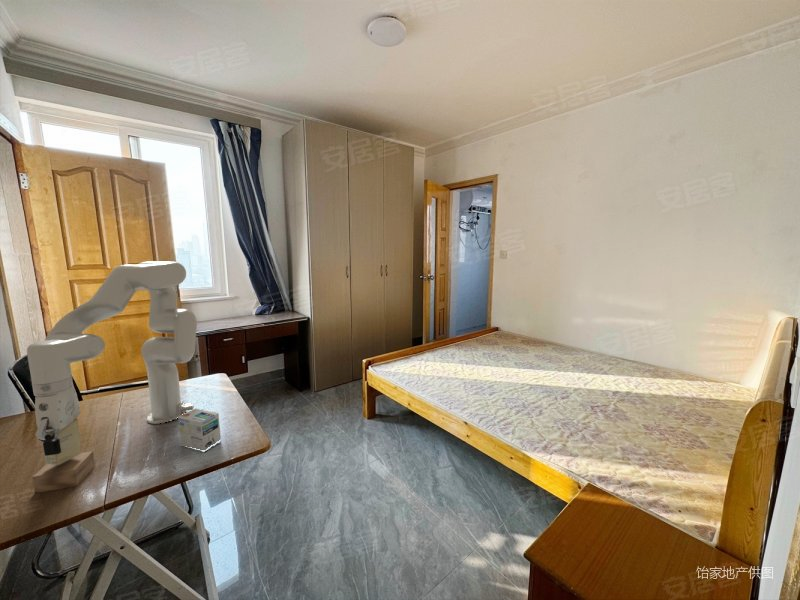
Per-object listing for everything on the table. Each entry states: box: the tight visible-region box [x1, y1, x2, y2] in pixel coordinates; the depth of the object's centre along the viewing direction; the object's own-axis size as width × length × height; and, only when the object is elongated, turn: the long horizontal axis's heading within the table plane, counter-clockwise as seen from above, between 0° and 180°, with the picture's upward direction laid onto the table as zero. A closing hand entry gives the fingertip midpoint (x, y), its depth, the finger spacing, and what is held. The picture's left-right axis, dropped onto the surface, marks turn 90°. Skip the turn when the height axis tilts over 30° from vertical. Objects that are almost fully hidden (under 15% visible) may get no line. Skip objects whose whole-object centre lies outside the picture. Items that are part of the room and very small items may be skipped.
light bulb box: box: [177, 408, 222, 450], centre depth 110 cm, size 11×7×11 cm, turn 71°
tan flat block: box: [32, 451, 96, 493], centre depth 94 cm, size 9×9×5 cm
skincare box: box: [42, 413, 83, 465], centre depth 93 cm, size 6×4×12 cm
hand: (62, 445), depth 93 cm, fingers closed on skincare box, 7 cm apart
